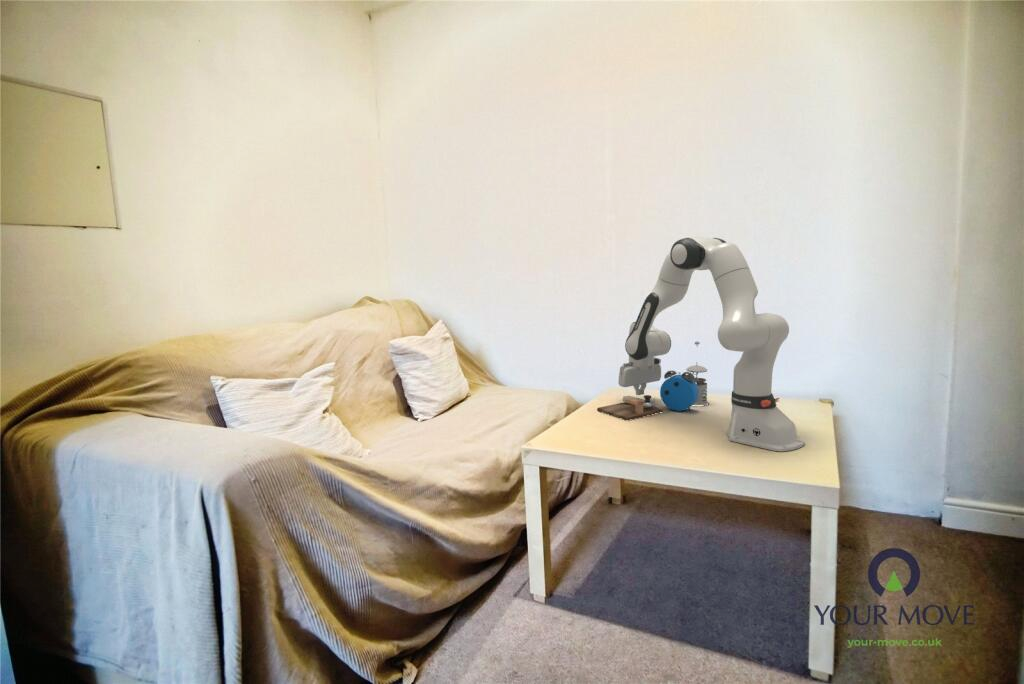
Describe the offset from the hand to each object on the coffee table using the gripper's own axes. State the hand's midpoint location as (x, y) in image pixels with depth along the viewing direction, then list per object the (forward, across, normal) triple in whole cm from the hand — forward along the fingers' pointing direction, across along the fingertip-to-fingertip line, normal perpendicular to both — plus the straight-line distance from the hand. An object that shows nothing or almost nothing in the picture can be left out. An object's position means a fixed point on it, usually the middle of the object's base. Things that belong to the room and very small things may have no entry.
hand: (639, 394), depth 214 cm
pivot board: (+3, -12, -7) cm, 14 cm away
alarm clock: (+4, +4, -16) cm, 17 cm away
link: (+2, -7, -6) cm, 9 cm away
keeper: (+2, -13, -11) cm, 18 cm away
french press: (+4, +18, -13) cm, 22 cm away
